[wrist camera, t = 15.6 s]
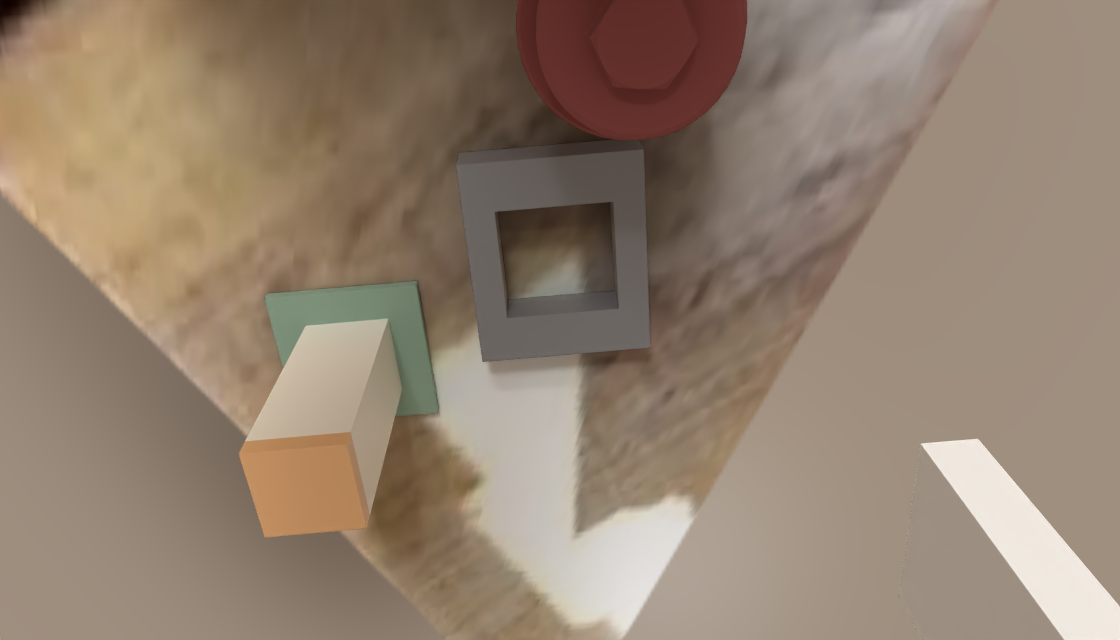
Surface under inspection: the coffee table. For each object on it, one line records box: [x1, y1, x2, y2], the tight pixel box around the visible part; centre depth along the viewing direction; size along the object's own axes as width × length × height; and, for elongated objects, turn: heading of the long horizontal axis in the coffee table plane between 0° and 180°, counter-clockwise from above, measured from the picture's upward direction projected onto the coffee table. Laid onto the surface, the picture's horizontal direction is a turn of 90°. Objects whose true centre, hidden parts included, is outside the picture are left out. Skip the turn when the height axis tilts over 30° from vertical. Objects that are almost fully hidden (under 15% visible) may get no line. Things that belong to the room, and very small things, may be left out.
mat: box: [265, 281, 439, 416], centre depth 51 cm, size 9×9×1 cm
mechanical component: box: [516, 0, 747, 140], centre depth 37 cm, size 12×10×10 cm
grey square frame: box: [456, 139, 650, 362], centre depth 48 cm, size 12×10×2 cm
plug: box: [239, 319, 402, 537], centre depth 45 cm, size 5×5×13 cm
